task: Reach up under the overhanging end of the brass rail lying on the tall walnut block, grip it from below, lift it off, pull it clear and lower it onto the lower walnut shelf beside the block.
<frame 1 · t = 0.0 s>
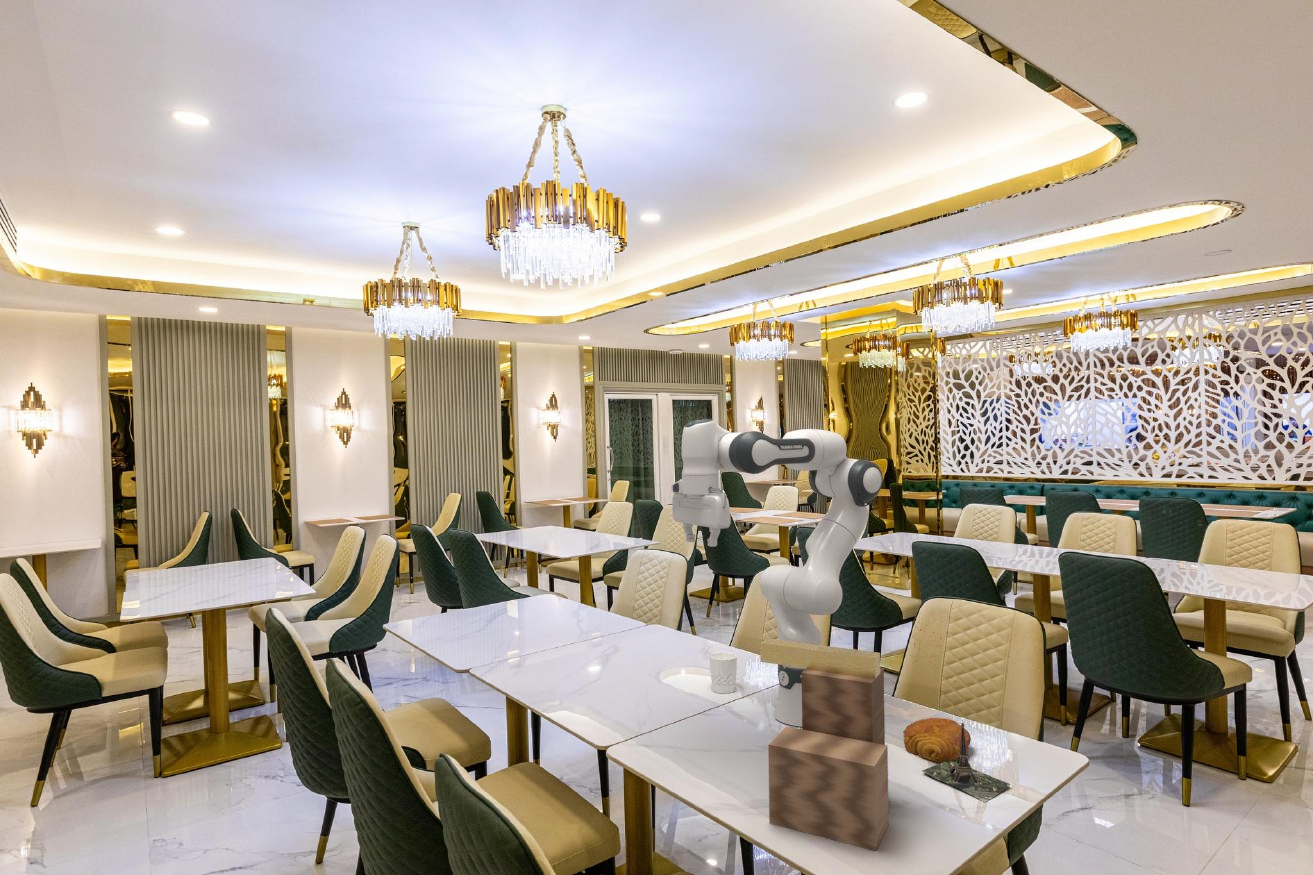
hand: (701, 543, 178), 48 cm above the table, tool pointing down, fingers open, 8 cm apart
stand: (844, 798, 150), on the table
white cup: (723, 690, 215), on the table
eiffel tower figurine: (965, 781, 157), on the table
croissant: (936, 751, 173), on the table
rail: (818, 667, 152), point 26 cm above the table, touching stand
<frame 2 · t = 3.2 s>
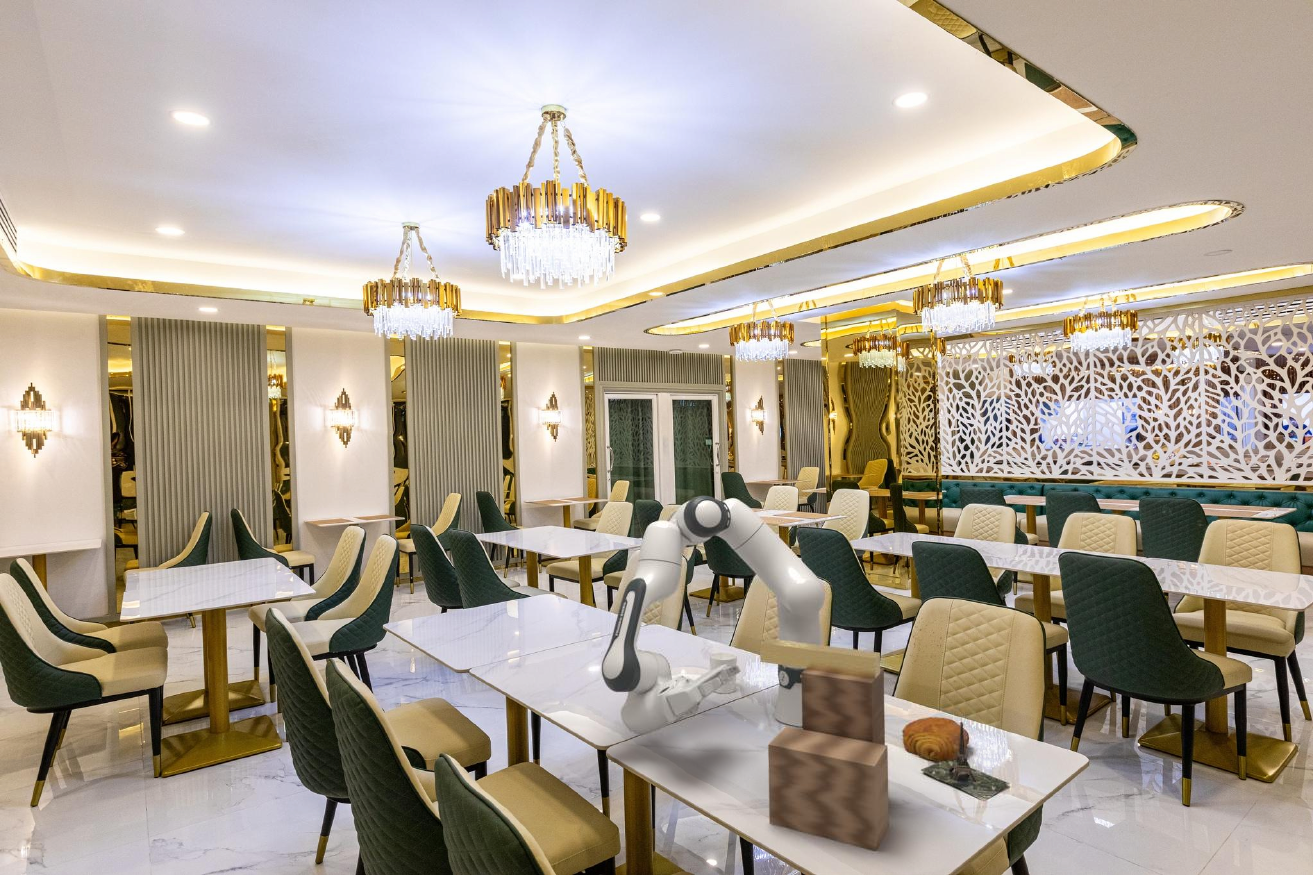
hand: (729, 674, 162), 22 cm above the table, tool pointing upward, fingers open, 8 cm apart
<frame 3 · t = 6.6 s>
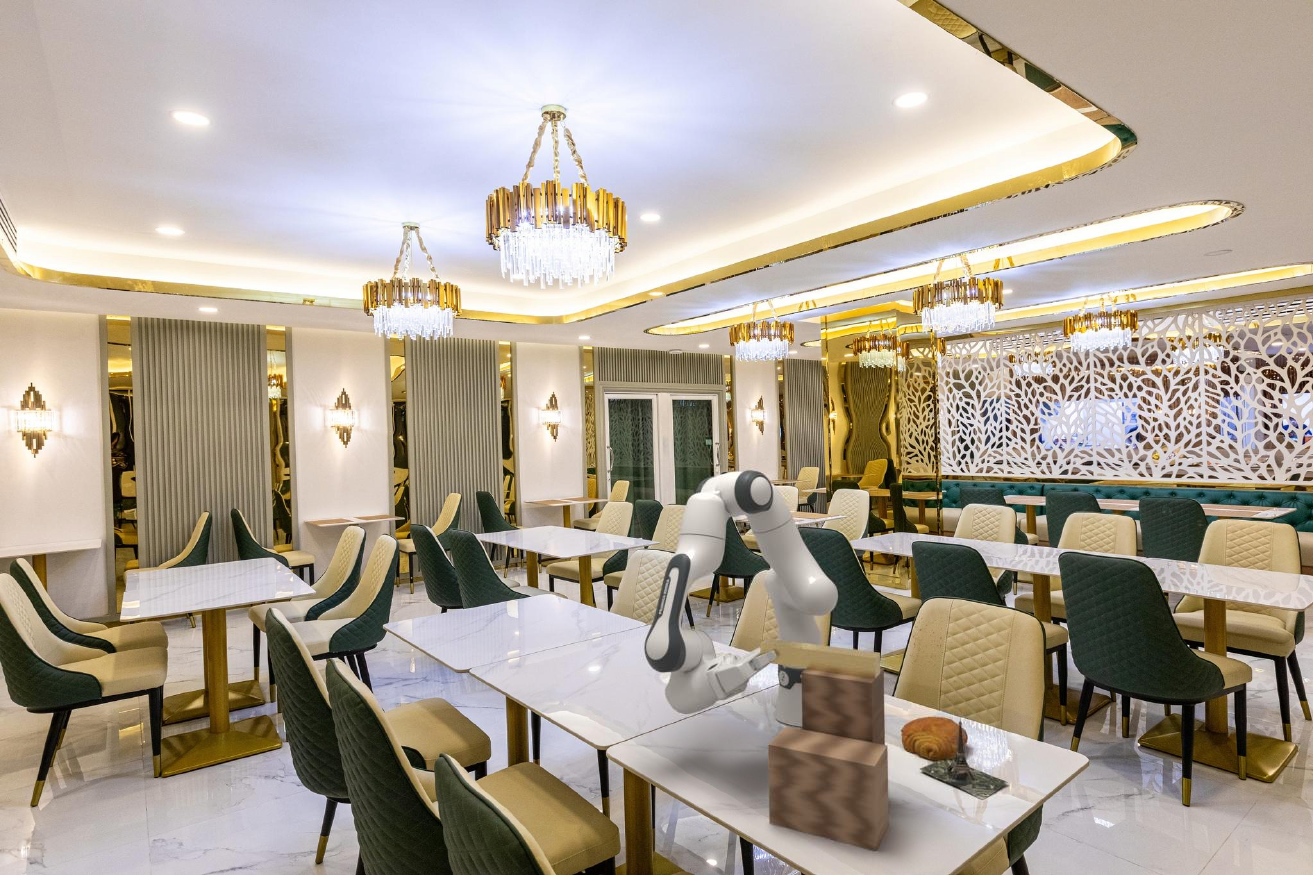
hand: (780, 650, 156), 28 cm above the table, tool pointing upward, fingers closed on rail, 4 cm apart
eiffel tower figurine: (963, 779, 158), on the table, touching croissant
croissant: (933, 749, 173), on the table, touching eiffel tower figurine
rail: (818, 667, 152), point 26 cm above the table, touching gripper, stand
everything else where it was.
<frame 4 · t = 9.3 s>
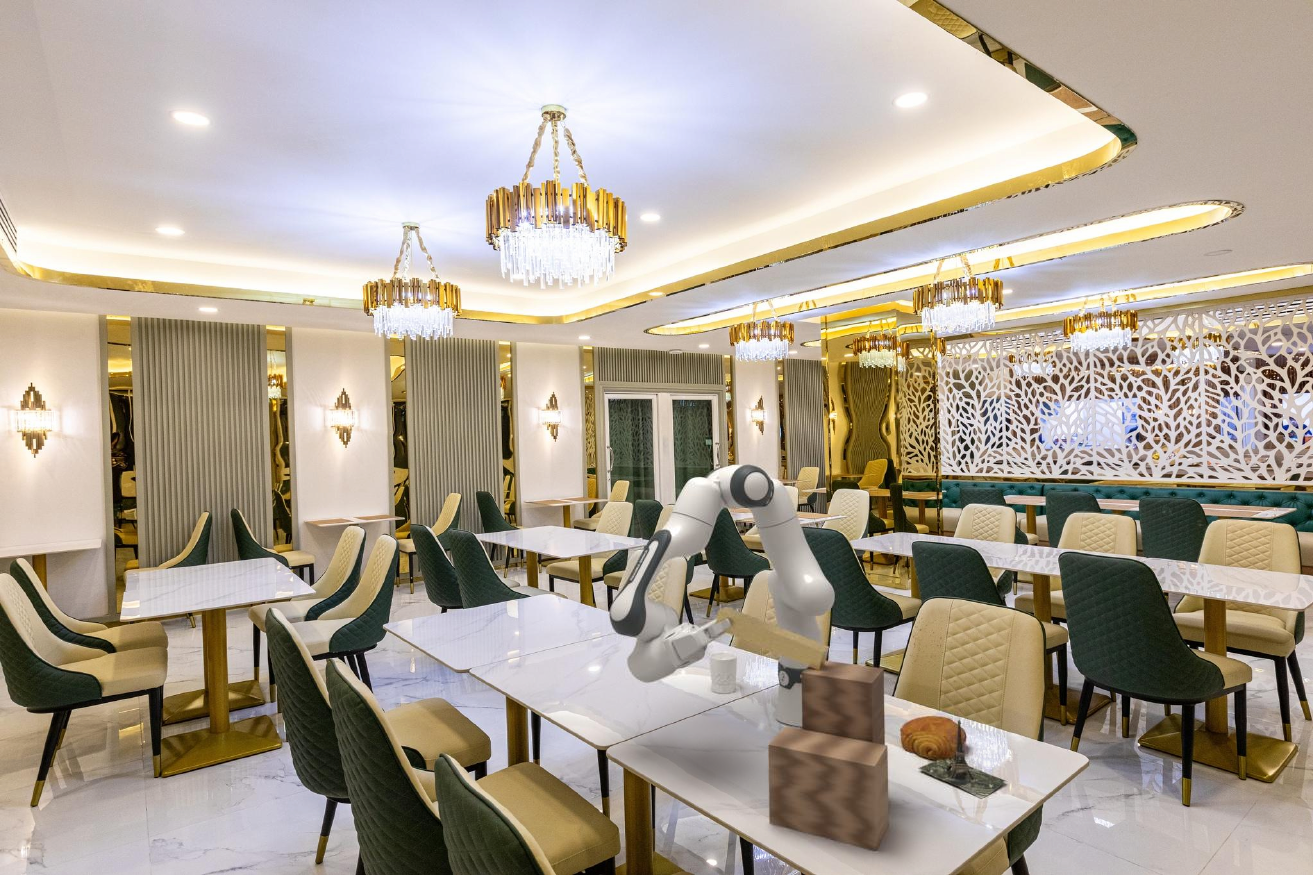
hand: (735, 618, 161), 34 cm above the table, tool pointing upward, fingers closed on rail, 4 cm apart
rail: (768, 645, 158), point 29 cm above the table, tilted 14°, touching gripper
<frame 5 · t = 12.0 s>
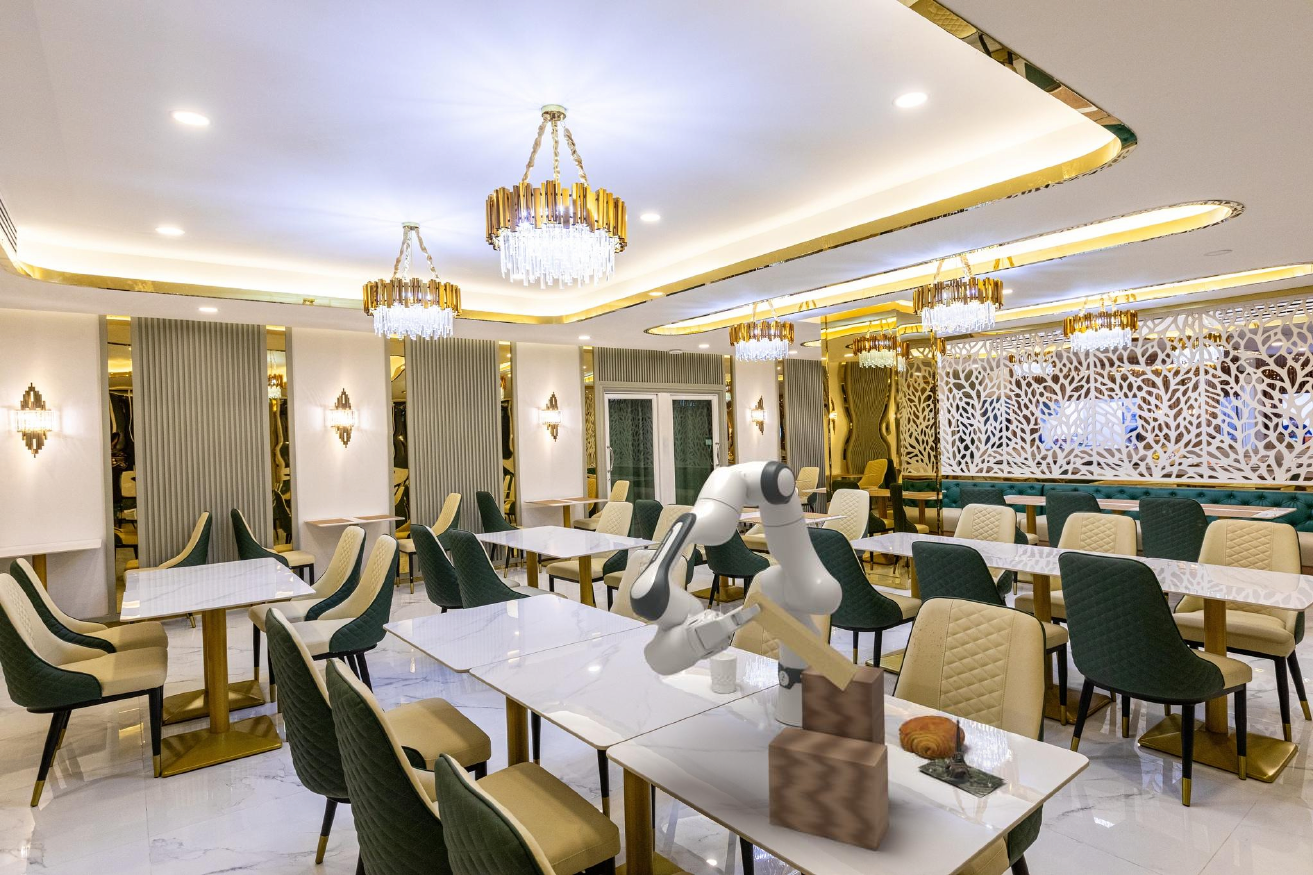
hand: (764, 604, 146), 40 cm above the table, tool pointing upward, fingers closed on rail, 4 cm apart
rail: (793, 646, 143), point 33 cm above the table, tilted 32°, touching gripper
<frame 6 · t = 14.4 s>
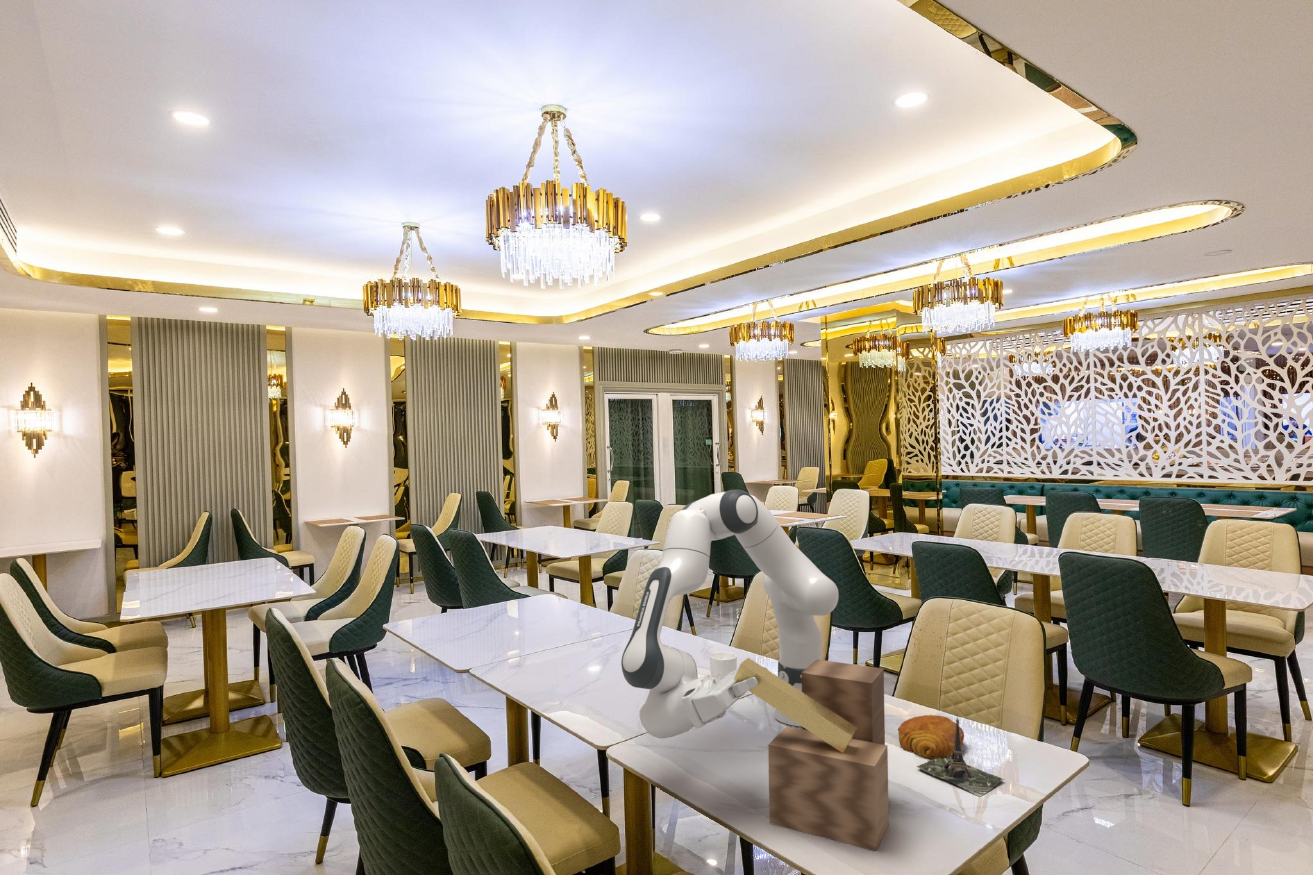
hand: (762, 675, 146), 27 cm above the table, tool pointing upward, fingers closed on rail, 4 cm apart
rail: (789, 711, 143), point 20 cm above the table, tilted 26°, touching gripper, stand
when the fingers open (18 cm above the table, at t = 16.6 s): rail stays where it is, resting on stand.
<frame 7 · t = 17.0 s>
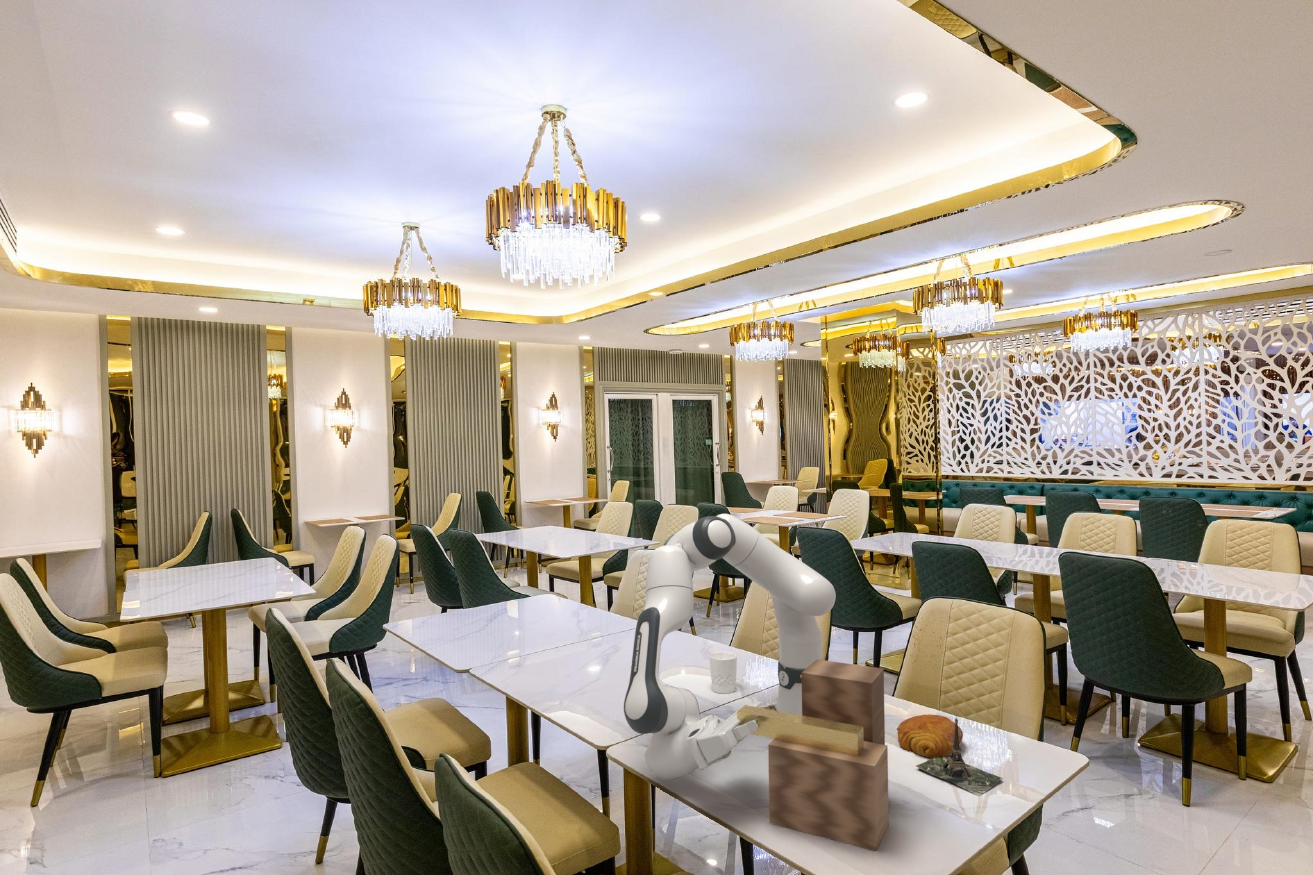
hand: (766, 715, 146), 18 cm above the table, tool pointing upward, fingers open, 8 cm apart
rail: (798, 739, 143), point 15 cm above the table, touching stand
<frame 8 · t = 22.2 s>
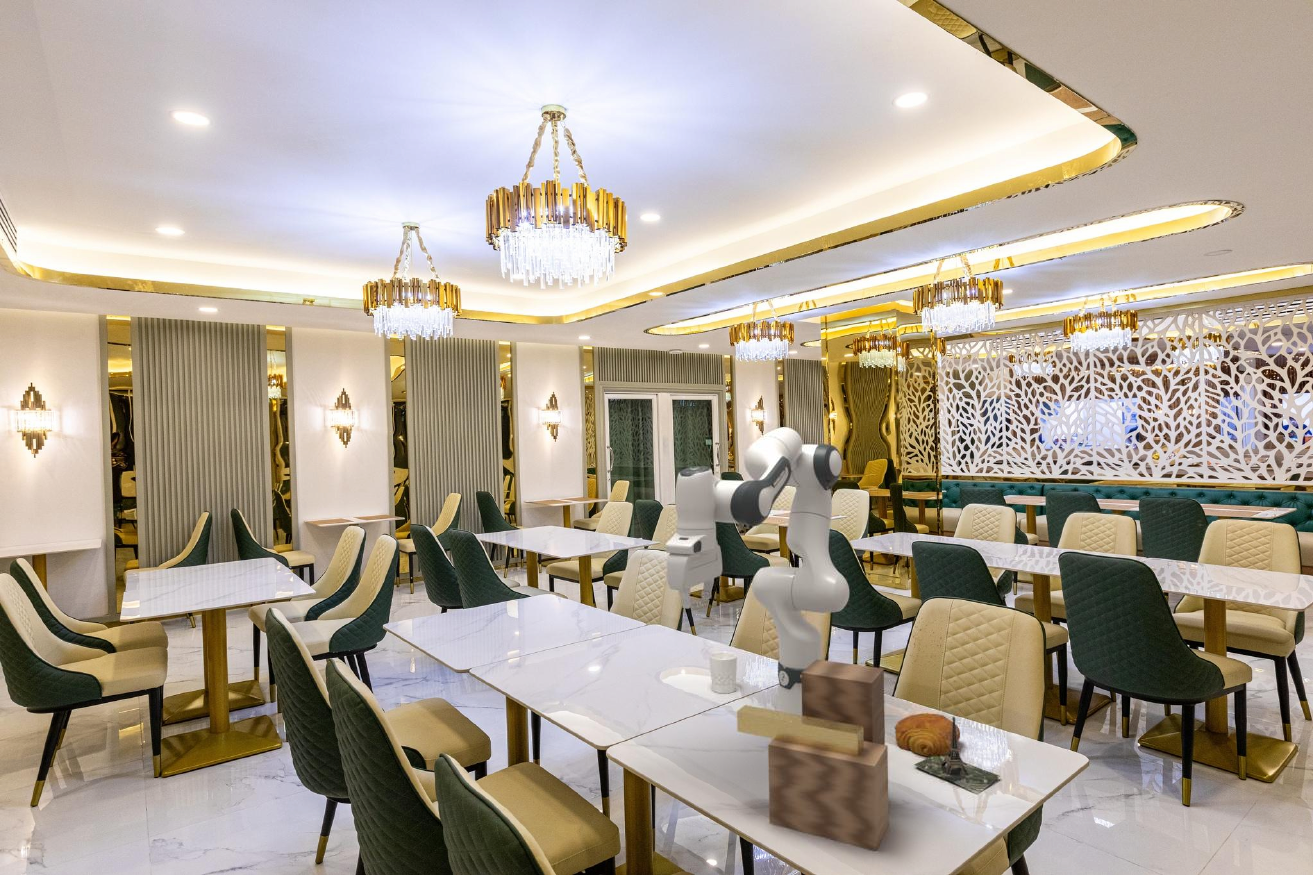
hand: (697, 603, 163), 37 cm above the table, tool pointing down, fingers open, 8 cm apart
at the end: rail inside the target area (1.6 cm from its centre), point 15.0 cm above the table; rail touching stand; the gripper is holding nothing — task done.
